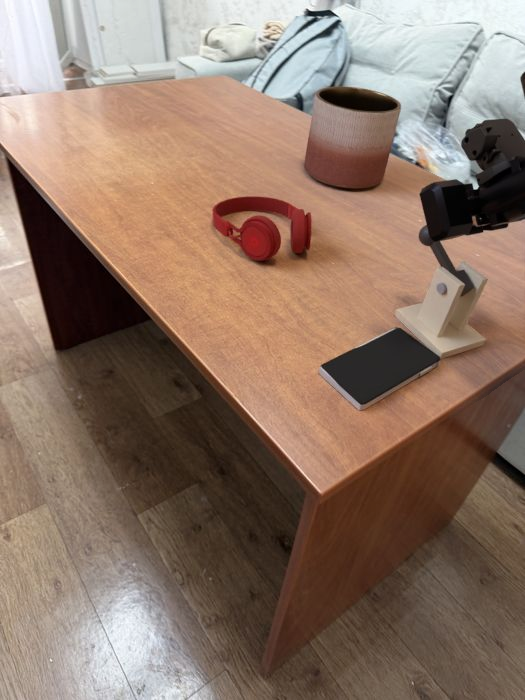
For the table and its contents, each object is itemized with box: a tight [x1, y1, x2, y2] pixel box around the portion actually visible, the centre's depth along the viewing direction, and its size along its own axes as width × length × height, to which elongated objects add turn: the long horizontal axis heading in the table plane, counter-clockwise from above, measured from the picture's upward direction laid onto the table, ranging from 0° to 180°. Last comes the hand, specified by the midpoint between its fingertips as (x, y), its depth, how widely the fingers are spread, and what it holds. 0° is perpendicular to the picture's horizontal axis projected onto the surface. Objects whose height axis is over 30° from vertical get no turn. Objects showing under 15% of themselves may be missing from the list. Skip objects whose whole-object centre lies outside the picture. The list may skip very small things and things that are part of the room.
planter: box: [303, 85, 402, 190], centre depth 103 cm, size 18×18×16 cm
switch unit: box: [394, 261, 489, 360], centre depth 67 cm, size 10×8×10 cm
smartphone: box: [318, 326, 441, 411], centre depth 63 cm, size 8×1×15 cm
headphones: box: [212, 195, 312, 261], centre depth 84 cm, size 15×7×20 cm
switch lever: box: [418, 224, 474, 297], centre depth 66 cm, size 11×3×3 cm, turn 26°
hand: (441, 224), depth 65 cm, fingers closed
